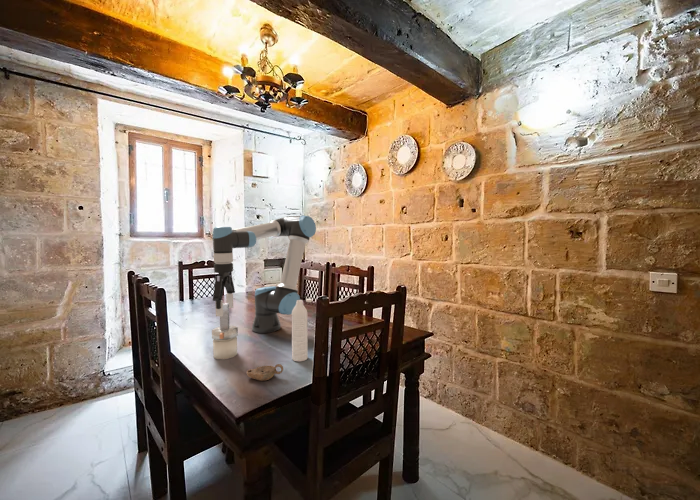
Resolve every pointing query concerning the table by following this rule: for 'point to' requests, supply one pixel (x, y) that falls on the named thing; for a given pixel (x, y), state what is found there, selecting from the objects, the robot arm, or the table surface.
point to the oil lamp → (264, 372)
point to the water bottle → (299, 332)
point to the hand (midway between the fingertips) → (225, 311)
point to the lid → (225, 327)
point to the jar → (225, 348)
